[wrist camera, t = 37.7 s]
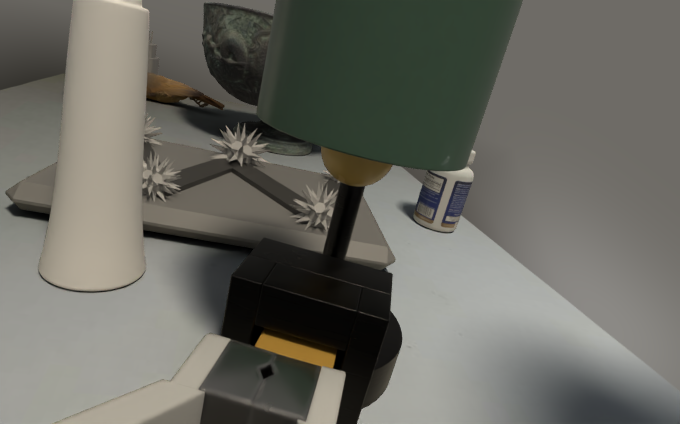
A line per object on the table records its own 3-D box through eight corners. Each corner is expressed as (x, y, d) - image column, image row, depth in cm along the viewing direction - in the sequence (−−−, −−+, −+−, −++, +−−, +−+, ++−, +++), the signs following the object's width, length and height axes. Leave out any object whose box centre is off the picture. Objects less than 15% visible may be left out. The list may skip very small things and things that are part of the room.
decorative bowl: (381, 170, 74) (411, 42, 67) (239, 168, 57) (260, -1, 51) (295, 132, 92) (312, 29, 86) (169, 122, 76) (179, -5, 70)
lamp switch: (322, 407, 17) (332, 370, 16) (245, 383, 17) (253, 347, 16) (332, 366, 19) (341, 333, 18) (264, 346, 19) (271, 313, 19)
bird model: (112, 89, 86) (114, 62, 85) (224, 112, 91) (227, 88, 89) (102, 93, 81) (104, 64, 79) (221, 117, 86) (225, 91, 84)
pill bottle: (452, 222, 57) (477, 149, 54) (457, 237, 52) (486, 157, 49) (411, 211, 57) (434, 138, 54) (412, 225, 52) (438, 145, 49)
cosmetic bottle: (24, 290, 25) (29, -179, 18) (53, 242, 30) (66, -135, 23) (141, 295, 27) (186, -122, 20) (149, 250, 33) (187, -93, 26)
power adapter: (156, 93, 93) (162, 33, 90) (148, 96, 88) (155, 32, 84) (141, 90, 93) (146, 29, 89) (132, 92, 88) (137, 28, 84)
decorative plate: (-3, 216, 32) (-4, 117, 30) (107, 149, 52) (111, 87, 50) (393, 280, 38) (418, 201, 35) (355, 197, 58) (369, 143, 55)
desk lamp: (384, 497, 18) (582, -33, 12) (156, 426, 19) (230, -116, 13) (392, 327, 31) (492, 20, 24) (254, 287, 31) (316, -24, 25)
